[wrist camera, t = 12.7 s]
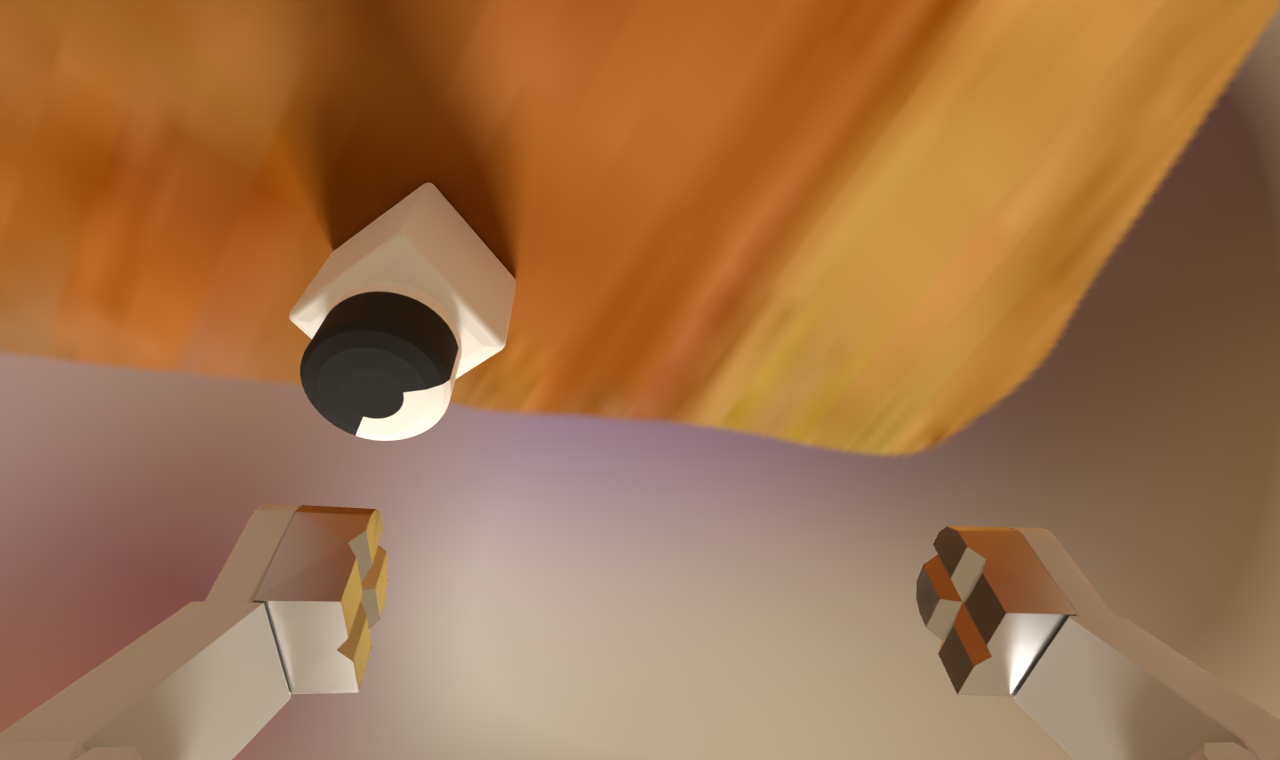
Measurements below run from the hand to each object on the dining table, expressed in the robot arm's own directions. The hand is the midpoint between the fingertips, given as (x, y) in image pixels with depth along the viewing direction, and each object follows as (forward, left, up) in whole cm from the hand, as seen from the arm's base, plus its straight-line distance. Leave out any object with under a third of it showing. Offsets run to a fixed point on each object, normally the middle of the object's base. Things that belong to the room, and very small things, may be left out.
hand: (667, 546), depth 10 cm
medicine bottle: (+4, -13, -29) cm, 32 cm away
